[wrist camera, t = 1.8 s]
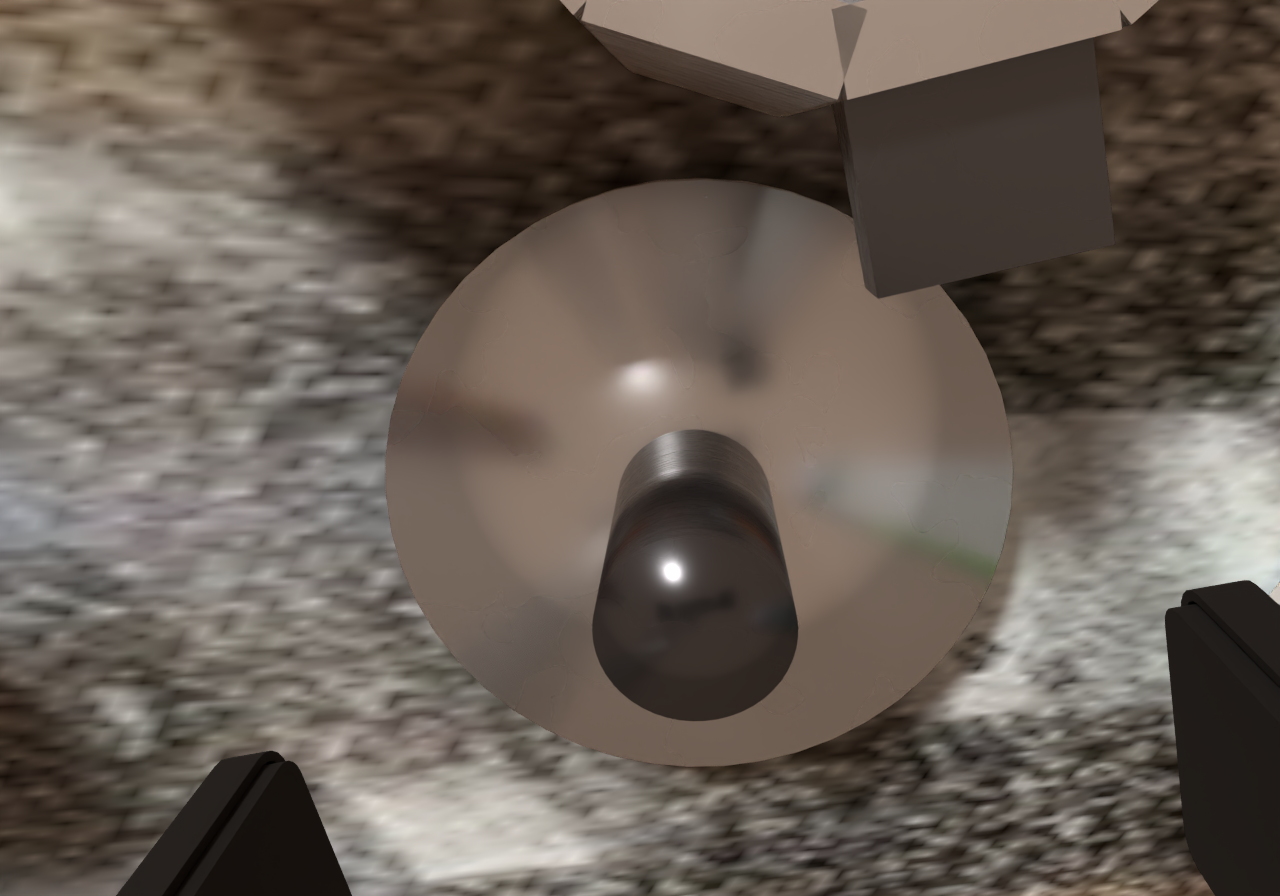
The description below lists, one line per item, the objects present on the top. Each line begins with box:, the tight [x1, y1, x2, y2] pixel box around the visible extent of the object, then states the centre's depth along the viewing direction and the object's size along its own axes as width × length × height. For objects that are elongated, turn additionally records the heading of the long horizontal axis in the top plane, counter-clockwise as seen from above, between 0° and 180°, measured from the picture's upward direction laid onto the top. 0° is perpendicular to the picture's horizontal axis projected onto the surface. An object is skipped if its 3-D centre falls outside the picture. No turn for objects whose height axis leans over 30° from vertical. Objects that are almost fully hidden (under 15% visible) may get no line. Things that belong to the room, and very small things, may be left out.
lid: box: [386, 178, 1013, 767], centre depth 19 cm, size 13×13×8 cm
